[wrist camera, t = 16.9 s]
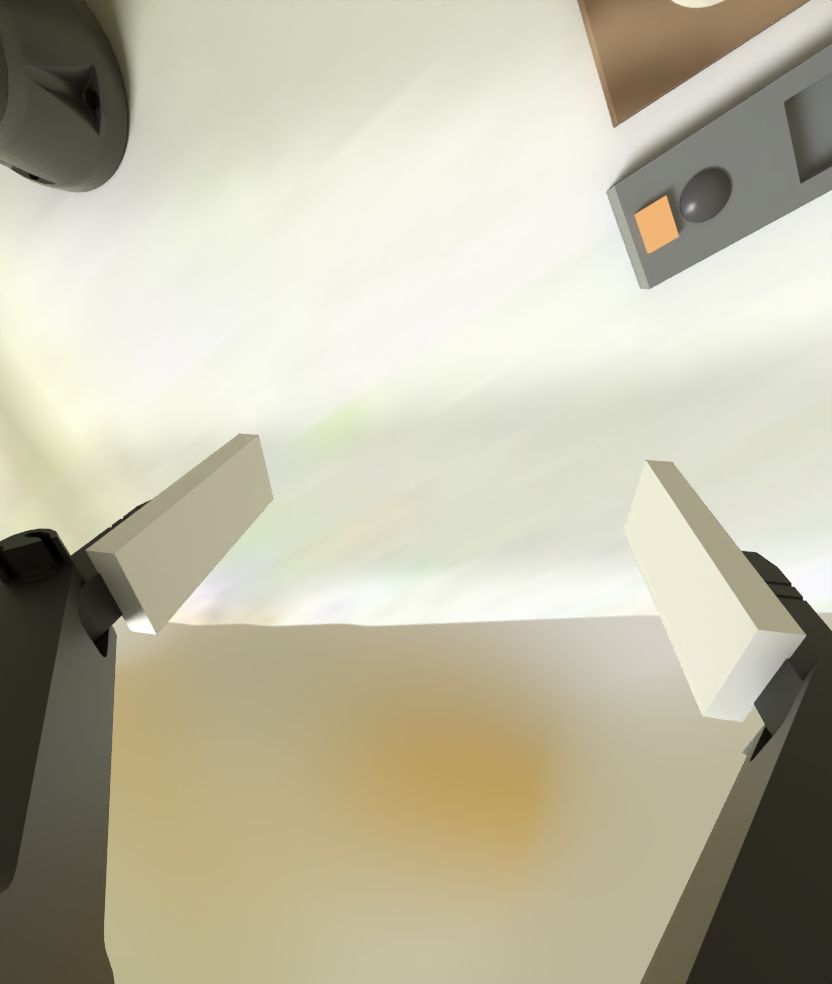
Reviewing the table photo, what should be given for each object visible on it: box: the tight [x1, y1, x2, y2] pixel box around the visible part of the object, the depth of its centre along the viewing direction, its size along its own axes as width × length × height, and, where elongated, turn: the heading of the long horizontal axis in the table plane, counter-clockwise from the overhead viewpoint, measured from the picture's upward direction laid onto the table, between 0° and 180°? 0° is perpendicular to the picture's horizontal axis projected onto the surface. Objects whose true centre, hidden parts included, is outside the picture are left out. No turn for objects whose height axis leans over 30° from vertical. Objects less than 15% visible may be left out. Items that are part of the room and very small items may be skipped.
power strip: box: [606, 44, 832, 289], centre depth 29 cm, size 18×8×4 cm, turn 121°
